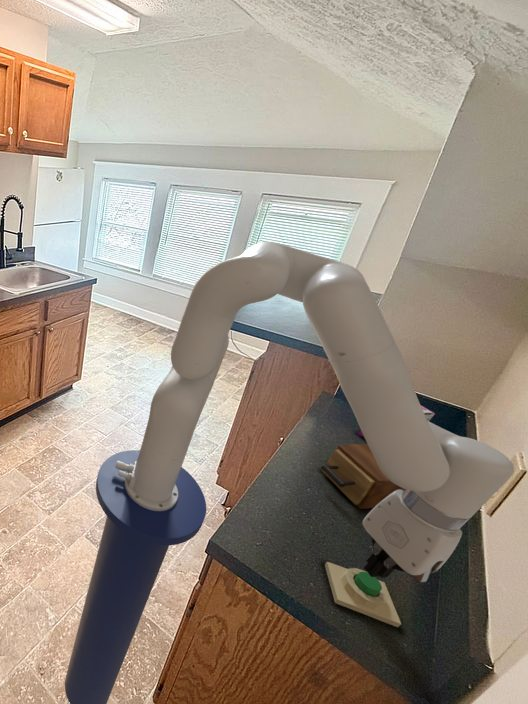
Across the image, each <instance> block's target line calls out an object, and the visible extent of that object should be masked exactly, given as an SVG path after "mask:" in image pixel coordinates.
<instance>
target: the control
mask: <svg viewBox="0 0 528 704" xmlns="http://www.w3.org/2000/svg"><path fill="white" fill-rule="evenodd" d="M324 568H325V572H326V575H327V579H328V582H329V586H330V589H331V593H332V598H333V600H334V603H335V604H336V605H339V606H341V607H344V608H347V609H349V610H351V611H354V612H357V613H360V614H363V615H365V616H368V617H370V618H372V619H375V620H377V621H380V622H383V623H385V624H388V625H391V626H393V627H396V628H399V627H400V626H402V622H401V619H400V616H399V615H398V612H397V610H396V607H395V605H394V602H393V599H392V597H391V595H390V592H389V590H388V587H387V585H386V583H385V582H384V581H382V580H379V579H377V580H378V581H379V582H380V584H381V586H382V590H381V591H380V592H379V593H378V594H377V595H376V596H369V595H367V594H365V593H364V592H362V591H361V590H360V589H359V588H358V587H357V586H356V584H355V581H354V579H355V577H356V576H357V575H358V574H359V573H360V572H367V571H366V570H363V569H361V568H357V567H351V568H346V567H344V566H341V565H338V564H335V563H332V562H329V561H326V562H325V563H324Z"/></svg>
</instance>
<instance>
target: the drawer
mask: <svg viewBox="0 0 528 704" xmlns="http://www.w3.org/2000/svg"><path fill="white" fill-rule="evenodd" d="M320 468H321V469H322V470H321V473H323V474H324V475H325V476H326V477H327V478H328V479H329V480H330V481H331V482H332V483H333V484H334V485H335V486H336V487H337V488H338V489H339V490H340V491H341V493H343V494H344V495H345V496H346V497H347V498H348V500H350V501H351V502H352V503H353V504H354V505H355V506H356V504H360V502H361V501H362V499H363V498H364V497H365V495H366V494H367V492H368V491H369V490H370V488H371V487H372V485H373V484H374V483H375V480H374V479H373V478H372V477H370V476H369V475H368V474H367V473H366V472H365V471H364V470H363V469H361V468H360V467H359V466H358V465H357V464H356V463H355V462H354V461H352V460H351V459H350V458H349V457H348V456H347V455H346V454H344V453H342V452H341V451H340V450H339V449H338V450H336V449H334V451H333V453H332V454H331V456H330V457H329V459H328V460H327V462H326V463H325V464H322V466H321V467H320Z"/></svg>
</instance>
